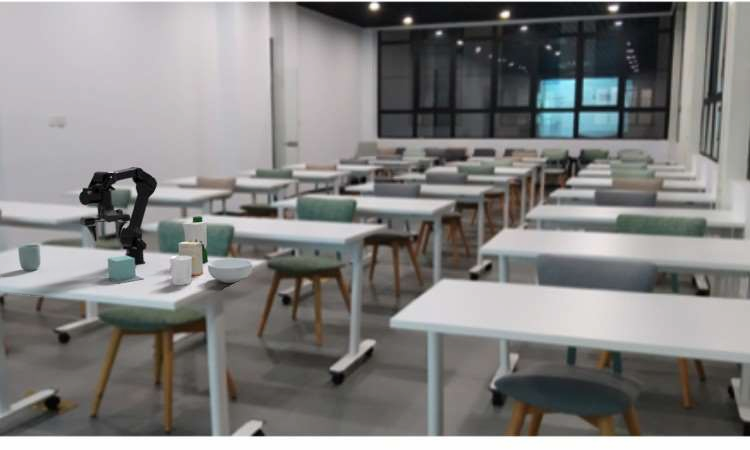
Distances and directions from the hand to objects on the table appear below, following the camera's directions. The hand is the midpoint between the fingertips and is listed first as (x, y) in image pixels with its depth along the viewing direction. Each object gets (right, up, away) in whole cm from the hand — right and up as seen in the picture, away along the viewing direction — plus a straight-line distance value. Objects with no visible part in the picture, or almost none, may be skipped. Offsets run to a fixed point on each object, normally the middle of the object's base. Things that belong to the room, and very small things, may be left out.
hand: (107, 239), depth 270 cm
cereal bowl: (+54, -16, -14) cm, 58 cm away
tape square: (+12, -15, -12) cm, 23 cm away
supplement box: (+36, -14, -3) cm, 39 cm away
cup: (-33, -13, +3) cm, 36 cm away
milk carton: (+32, -11, +18) cm, 38 cm away
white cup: (+36, -16, -18) cm, 44 cm away
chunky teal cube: (+10, -15, -10) cm, 20 cm away
